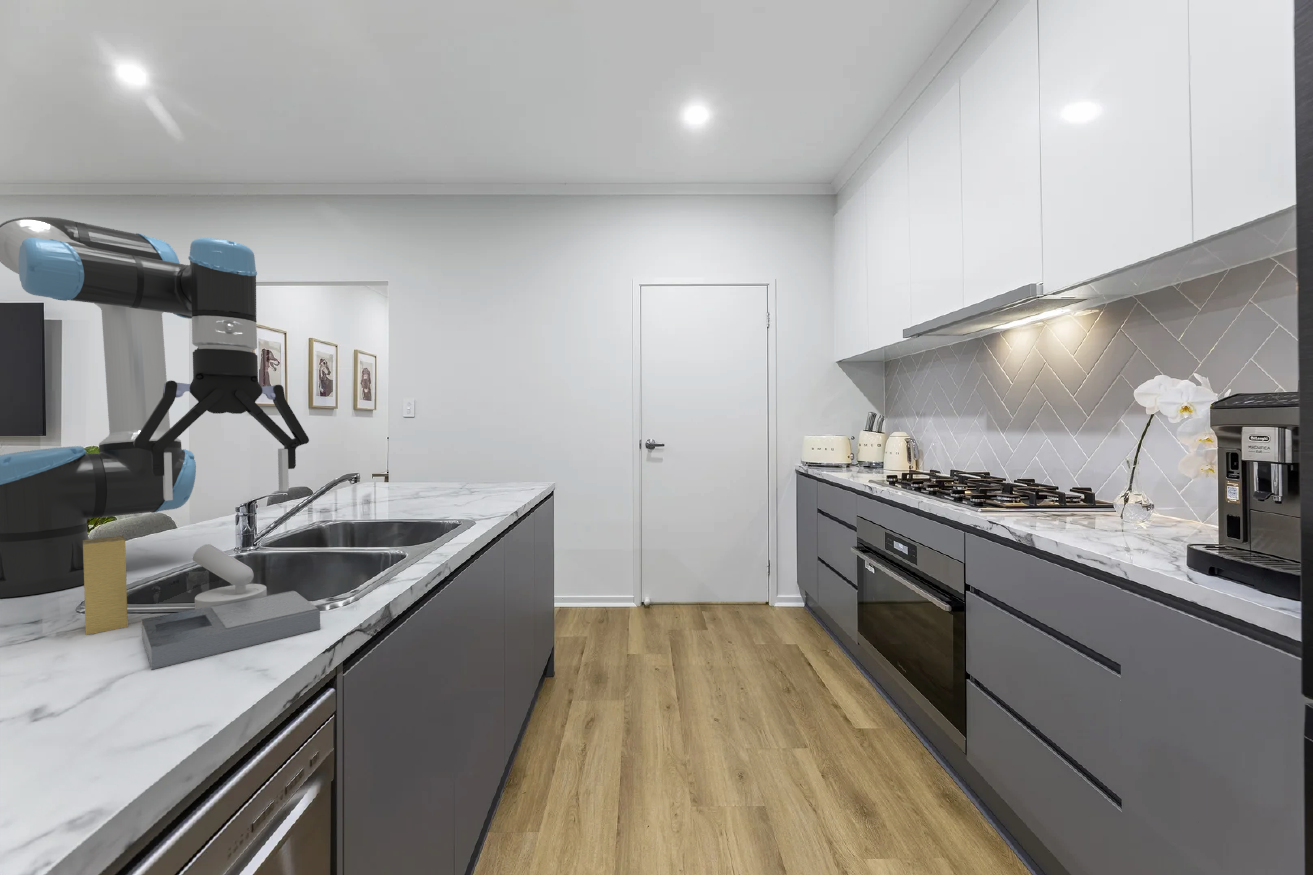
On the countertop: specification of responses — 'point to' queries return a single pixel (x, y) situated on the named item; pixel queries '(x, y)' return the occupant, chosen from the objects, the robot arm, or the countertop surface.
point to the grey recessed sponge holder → (226, 627)
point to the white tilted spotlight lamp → (226, 578)
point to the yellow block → (105, 584)
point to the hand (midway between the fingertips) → (229, 495)
